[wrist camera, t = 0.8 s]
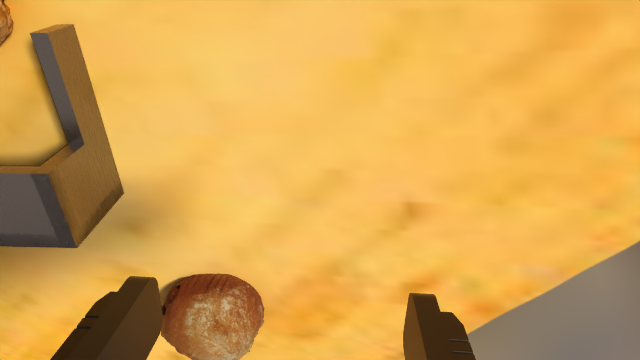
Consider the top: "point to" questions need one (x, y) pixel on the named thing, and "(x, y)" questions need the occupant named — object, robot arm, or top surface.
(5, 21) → the bagel
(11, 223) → the metal dock
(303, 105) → the top surface
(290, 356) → the top surface
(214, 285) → the bread roll
